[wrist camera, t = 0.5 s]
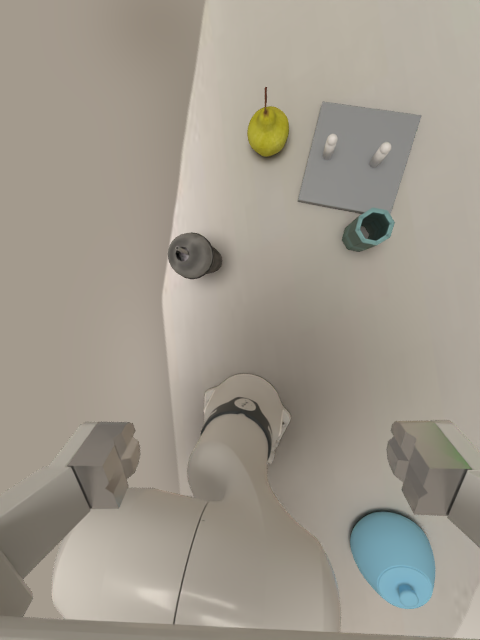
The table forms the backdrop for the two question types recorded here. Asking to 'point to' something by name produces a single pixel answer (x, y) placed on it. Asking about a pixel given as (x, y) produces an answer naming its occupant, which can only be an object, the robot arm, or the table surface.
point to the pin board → (357, 157)
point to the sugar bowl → (394, 558)
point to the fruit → (268, 130)
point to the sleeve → (375, 224)
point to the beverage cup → (193, 256)
